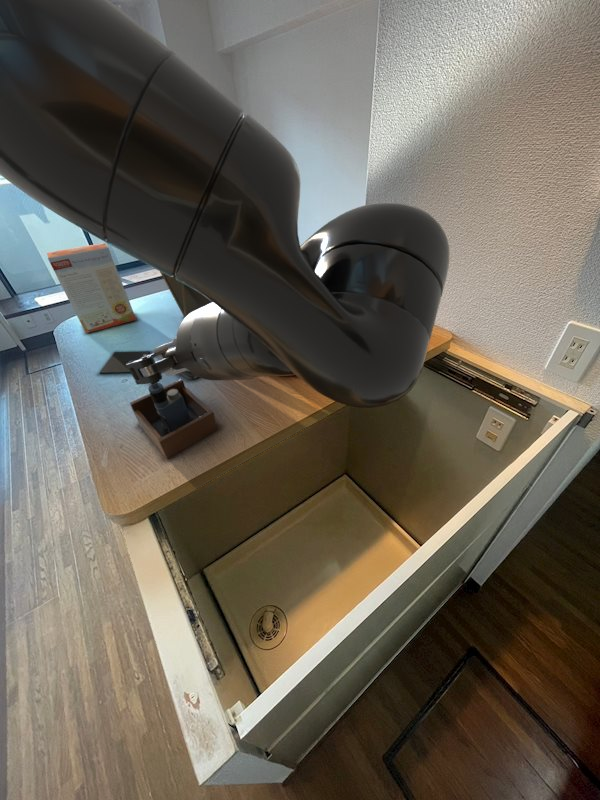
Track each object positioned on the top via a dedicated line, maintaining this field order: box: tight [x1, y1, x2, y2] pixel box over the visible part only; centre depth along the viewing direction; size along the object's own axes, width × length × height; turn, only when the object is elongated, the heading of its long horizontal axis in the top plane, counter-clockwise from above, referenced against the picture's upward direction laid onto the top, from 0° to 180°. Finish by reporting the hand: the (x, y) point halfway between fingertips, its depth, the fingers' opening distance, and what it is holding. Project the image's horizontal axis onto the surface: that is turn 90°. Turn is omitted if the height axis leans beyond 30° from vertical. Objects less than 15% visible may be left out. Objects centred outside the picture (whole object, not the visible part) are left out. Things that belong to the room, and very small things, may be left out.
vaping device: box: [148, 382, 191, 434], centre depth 60 cm, size 3×5×12 cm, turn 143°
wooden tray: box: [129, 378, 218, 459], centre depth 62 cm, size 12×11×6 cm
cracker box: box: [46, 242, 137, 334], centre depth 90 cm, size 14×6×21 cm, turn 123°
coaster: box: [99, 350, 151, 375], centre depth 81 cm, size 9×9×1 cm
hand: (175, 353), depth 43 cm, fingers open, 8 cm apart
